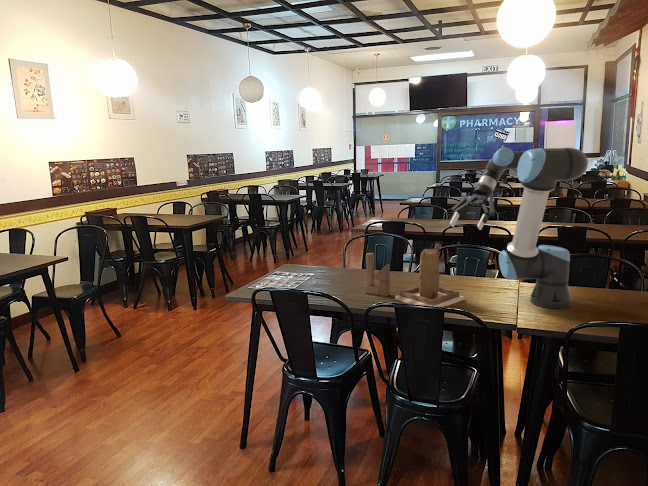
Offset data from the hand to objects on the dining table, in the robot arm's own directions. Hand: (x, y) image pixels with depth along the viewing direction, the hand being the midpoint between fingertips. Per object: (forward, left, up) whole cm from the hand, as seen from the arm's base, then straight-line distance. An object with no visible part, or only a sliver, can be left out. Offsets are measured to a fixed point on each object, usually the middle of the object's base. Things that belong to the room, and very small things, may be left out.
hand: (464, 226), depth 211 cm
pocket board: (+3, +20, -29) cm, 35 cm away
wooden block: (+24, +30, -29) cm, 48 cm away
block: (+3, +20, -28) cm, 34 cm away
